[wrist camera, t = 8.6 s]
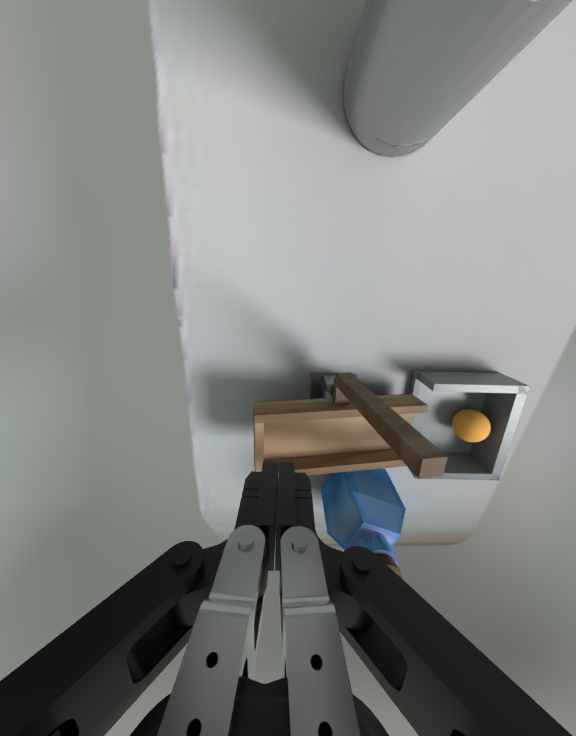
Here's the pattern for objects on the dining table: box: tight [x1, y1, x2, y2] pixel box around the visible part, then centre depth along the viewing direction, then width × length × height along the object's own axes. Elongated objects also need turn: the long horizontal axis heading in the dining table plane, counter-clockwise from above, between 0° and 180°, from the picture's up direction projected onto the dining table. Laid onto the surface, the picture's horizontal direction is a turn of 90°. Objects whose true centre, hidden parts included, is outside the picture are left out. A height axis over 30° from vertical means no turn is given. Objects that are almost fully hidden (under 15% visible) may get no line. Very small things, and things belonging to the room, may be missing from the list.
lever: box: [253, 373, 448, 479], centre depth 22 cm, size 10×17×14 cm, turn 89°
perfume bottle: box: [321, 468, 405, 578], centre depth 29 cm, size 6×6×12 cm
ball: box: [452, 409, 491, 442], centre depth 30 cm, size 4×4×4 cm
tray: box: [409, 371, 529, 480], centre depth 30 cm, size 11×10×4 cm
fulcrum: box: [310, 373, 357, 399], centre depth 30 cm, size 10×5×3 cm, turn 179°
